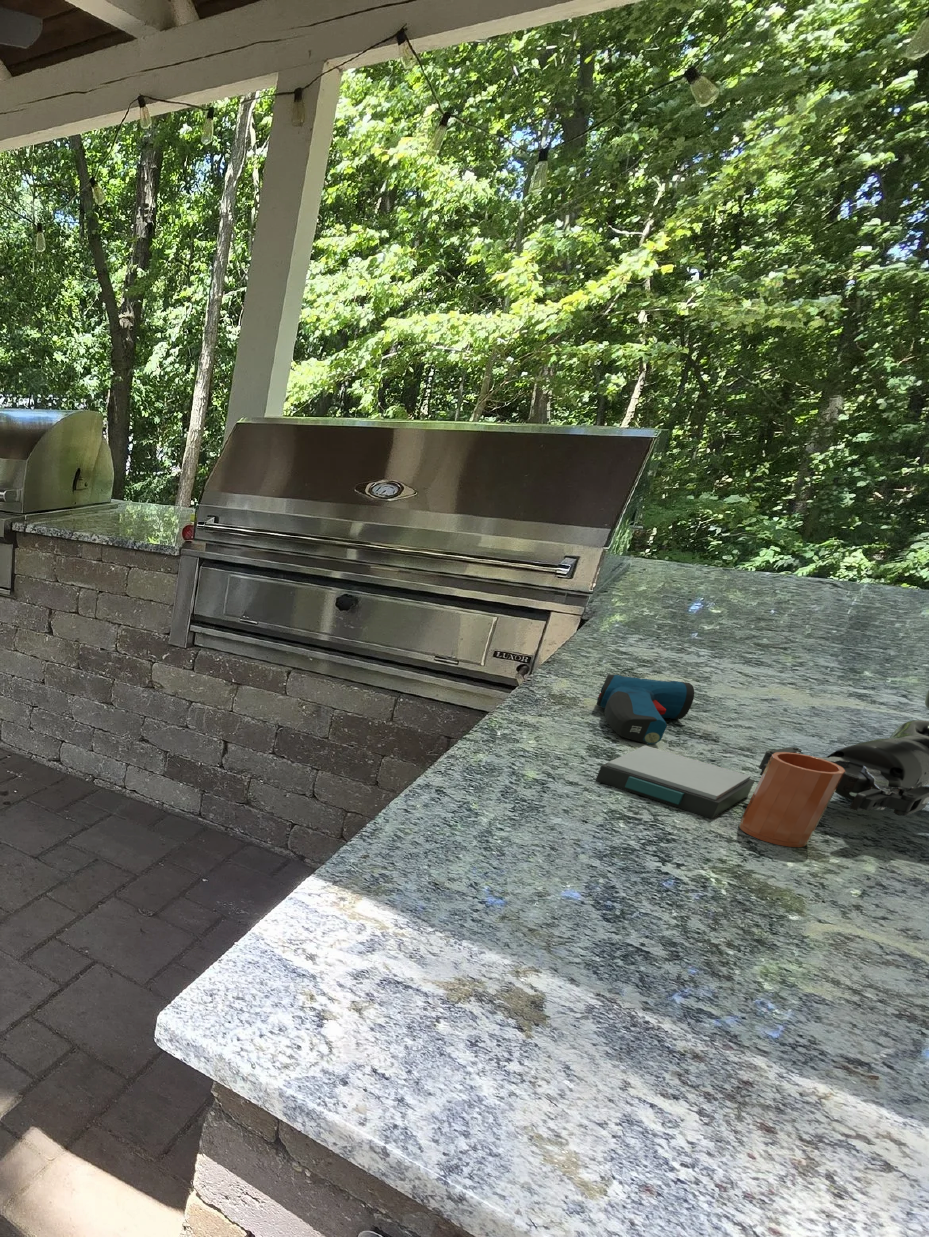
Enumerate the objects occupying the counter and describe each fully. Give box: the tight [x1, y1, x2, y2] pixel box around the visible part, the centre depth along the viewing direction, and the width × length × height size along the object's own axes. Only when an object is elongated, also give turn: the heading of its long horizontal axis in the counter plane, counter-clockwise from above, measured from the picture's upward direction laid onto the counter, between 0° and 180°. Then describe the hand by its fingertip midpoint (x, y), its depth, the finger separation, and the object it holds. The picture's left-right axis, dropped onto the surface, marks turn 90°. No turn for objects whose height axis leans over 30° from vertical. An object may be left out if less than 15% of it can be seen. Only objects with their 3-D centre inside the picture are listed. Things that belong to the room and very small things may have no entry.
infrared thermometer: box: [596, 674, 695, 745], centre depth 132 cm, size 6×13×20 cm
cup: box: [738, 752, 845, 848], centre depth 98 cm, size 6×6×10 cm
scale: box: [595, 745, 756, 820], centre depth 111 cm, size 13×14×3 cm
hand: (810, 787), depth 99 cm, fingers open, 8 cm apart
